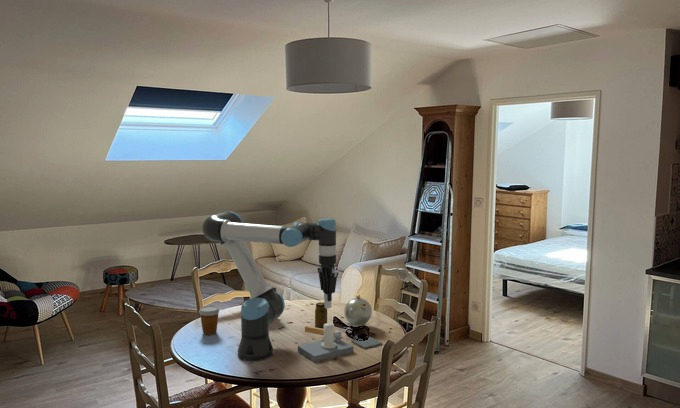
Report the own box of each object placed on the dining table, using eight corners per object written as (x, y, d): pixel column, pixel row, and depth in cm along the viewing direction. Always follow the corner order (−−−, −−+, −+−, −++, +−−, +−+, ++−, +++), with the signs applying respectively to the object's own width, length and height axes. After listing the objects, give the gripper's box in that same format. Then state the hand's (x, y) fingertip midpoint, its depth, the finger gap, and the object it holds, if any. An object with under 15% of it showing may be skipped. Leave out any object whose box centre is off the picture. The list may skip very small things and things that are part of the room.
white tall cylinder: (326, 355, 237) (326, 328, 236) (318, 350, 243) (318, 324, 241) (339, 352, 241) (339, 325, 240) (330, 347, 247) (331, 321, 245)
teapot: (377, 329, 271) (377, 297, 269) (352, 333, 265) (352, 300, 263) (360, 318, 287) (360, 287, 285) (336, 322, 281) (336, 290, 279)
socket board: (314, 361, 231) (314, 353, 231) (297, 351, 243) (297, 342, 242) (353, 351, 242) (353, 343, 242) (335, 342, 254) (335, 333, 253)
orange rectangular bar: (303, 332, 255) (303, 326, 254) (307, 330, 257) (307, 324, 257) (339, 339, 246) (339, 333, 246) (342, 337, 249) (342, 331, 248)
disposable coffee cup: (201, 337, 258) (200, 312, 257) (197, 331, 267) (197, 307, 266) (221, 334, 262) (221, 310, 261) (217, 328, 271) (217, 304, 270)
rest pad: (364, 349, 245) (364, 347, 245) (351, 342, 254) (351, 340, 254) (382, 344, 251) (382, 342, 251) (368, 337, 259) (368, 336, 259)
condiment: (322, 323, 278) (322, 300, 277) (333, 328, 272) (333, 304, 270) (310, 327, 274) (310, 303, 272) (321, 331, 267) (321, 307, 266)
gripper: (343, 255, 235) (343, 309, 237) (326, 250, 245) (326, 302, 248) (328, 258, 230) (329, 313, 233) (312, 253, 241) (312, 305, 244)
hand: (328, 307), depth 241 cm, fingers closed
